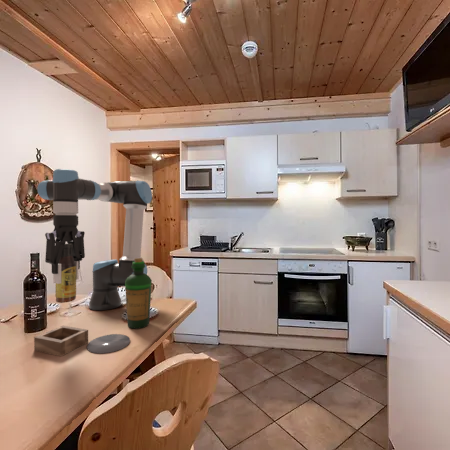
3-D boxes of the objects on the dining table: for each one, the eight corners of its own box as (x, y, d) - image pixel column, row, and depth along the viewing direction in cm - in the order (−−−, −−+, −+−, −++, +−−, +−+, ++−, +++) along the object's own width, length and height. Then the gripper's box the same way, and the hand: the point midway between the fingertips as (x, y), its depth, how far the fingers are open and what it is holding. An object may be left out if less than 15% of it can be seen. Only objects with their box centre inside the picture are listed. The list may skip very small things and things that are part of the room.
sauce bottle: (66, 304, 92) (65, 245, 91) (51, 303, 93) (49, 244, 93) (81, 298, 98) (80, 243, 98) (66, 297, 100) (65, 242, 99)
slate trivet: (107, 333, 107) (107, 331, 107) (137, 338, 102) (137, 337, 102) (77, 349, 94) (77, 347, 94) (110, 356, 89) (110, 354, 89)
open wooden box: (63, 337, 103) (63, 325, 103) (88, 342, 99) (88, 329, 99) (34, 350, 93) (34, 337, 93) (60, 356, 89) (60, 342, 89)
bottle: (119, 328, 112) (119, 259, 111) (135, 319, 122) (135, 256, 121) (142, 331, 109) (142, 261, 108) (156, 322, 119) (156, 257, 118)
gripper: (80, 215, 106) (81, 275, 106) (30, 214, 88) (31, 286, 88) (96, 215, 103) (96, 276, 103) (47, 214, 85) (48, 288, 86)
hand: (66, 280), depth 96 cm, fingers closed on sauce bottle, 6 cm apart
